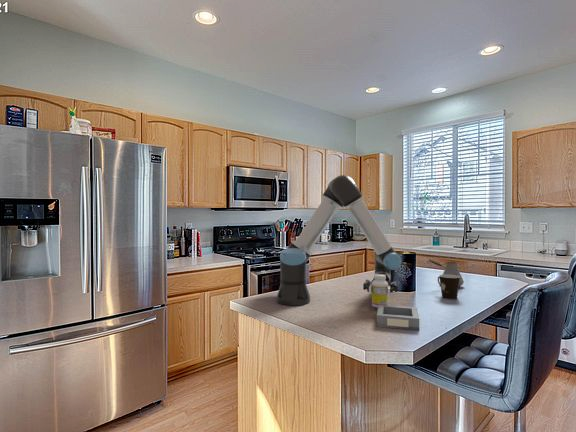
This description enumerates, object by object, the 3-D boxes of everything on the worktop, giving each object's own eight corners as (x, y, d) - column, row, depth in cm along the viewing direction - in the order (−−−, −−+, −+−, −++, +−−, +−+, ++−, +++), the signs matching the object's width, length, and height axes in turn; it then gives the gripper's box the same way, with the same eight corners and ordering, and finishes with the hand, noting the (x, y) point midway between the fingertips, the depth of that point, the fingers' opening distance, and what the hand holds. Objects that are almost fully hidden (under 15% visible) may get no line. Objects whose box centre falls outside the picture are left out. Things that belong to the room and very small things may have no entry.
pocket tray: (376, 326, 118) (376, 315, 118) (378, 314, 132) (378, 304, 132) (419, 330, 114) (419, 318, 114) (417, 318, 128) (416, 307, 128)
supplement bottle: (375, 302, 144) (375, 273, 144) (390, 305, 140) (390, 274, 140) (368, 306, 139) (368, 275, 139) (384, 309, 135) (384, 277, 135)
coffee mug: (462, 300, 152) (462, 278, 152) (441, 299, 154) (441, 277, 154) (454, 294, 164) (454, 273, 164) (436, 293, 165) (435, 273, 165)
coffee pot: (451, 283, 188) (451, 256, 188) (468, 287, 178) (468, 259, 178) (420, 286, 181) (420, 258, 181) (436, 291, 171) (436, 261, 170)
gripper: (403, 290, 154) (405, 303, 132) (360, 287, 160) (354, 299, 138) (404, 273, 154) (405, 284, 132) (360, 271, 160) (354, 280, 138)
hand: (379, 291), depth 135 cm, fingers closed on supplement bottle, 7 cm apart
